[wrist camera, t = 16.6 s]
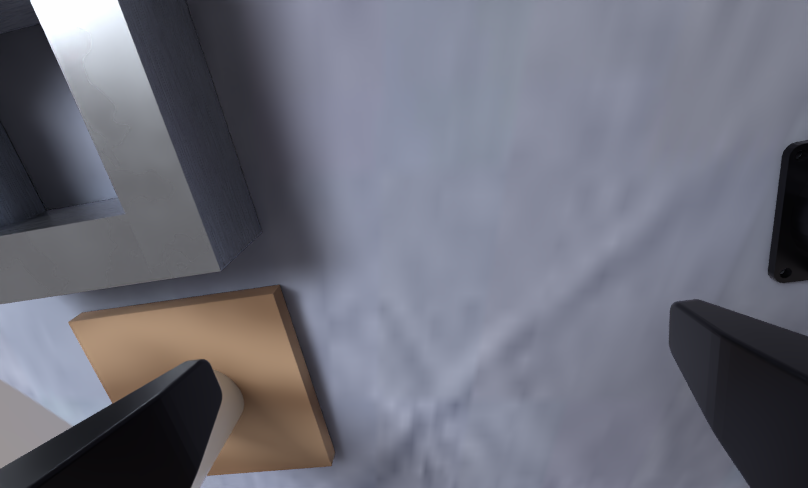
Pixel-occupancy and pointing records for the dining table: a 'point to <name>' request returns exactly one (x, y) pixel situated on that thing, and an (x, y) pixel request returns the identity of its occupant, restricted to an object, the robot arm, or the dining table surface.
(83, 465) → the robot arm
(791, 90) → the dining table surface
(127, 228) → the collar
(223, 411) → the dome-capped cylinder
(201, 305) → the pad
